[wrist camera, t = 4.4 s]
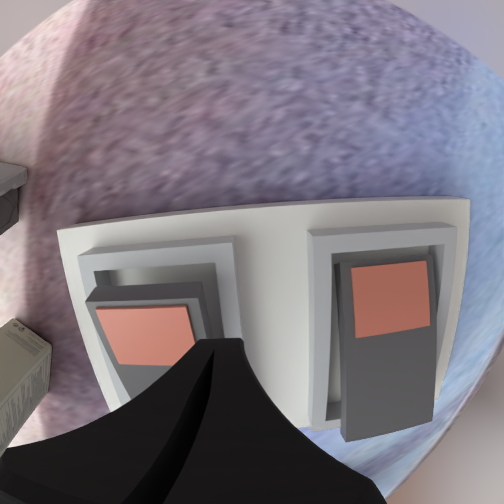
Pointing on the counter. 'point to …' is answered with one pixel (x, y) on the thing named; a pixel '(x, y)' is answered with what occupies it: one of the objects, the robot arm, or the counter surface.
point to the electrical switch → (10, 193)
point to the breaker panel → (272, 280)
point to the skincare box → (21, 377)
